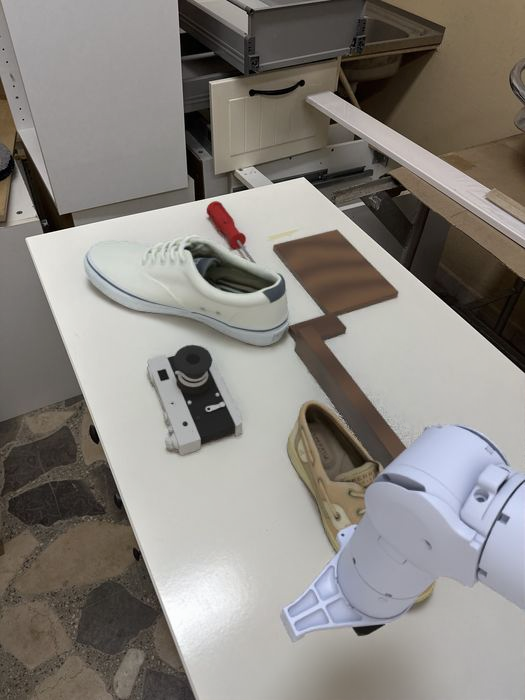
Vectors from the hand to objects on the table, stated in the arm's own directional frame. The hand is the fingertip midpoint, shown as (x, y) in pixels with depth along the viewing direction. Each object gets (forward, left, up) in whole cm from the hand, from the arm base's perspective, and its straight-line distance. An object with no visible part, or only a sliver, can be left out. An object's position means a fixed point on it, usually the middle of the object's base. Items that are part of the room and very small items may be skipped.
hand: (348, 611), depth 45 cm
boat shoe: (+11, -10, -11) cm, 18 cm away
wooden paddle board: (+31, -28, -10) cm, 43 cm away
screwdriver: (+63, -19, -11) cm, 67 cm away
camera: (+34, +2, -11) cm, 36 cm away
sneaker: (+53, -5, -11) cm, 55 cm away
